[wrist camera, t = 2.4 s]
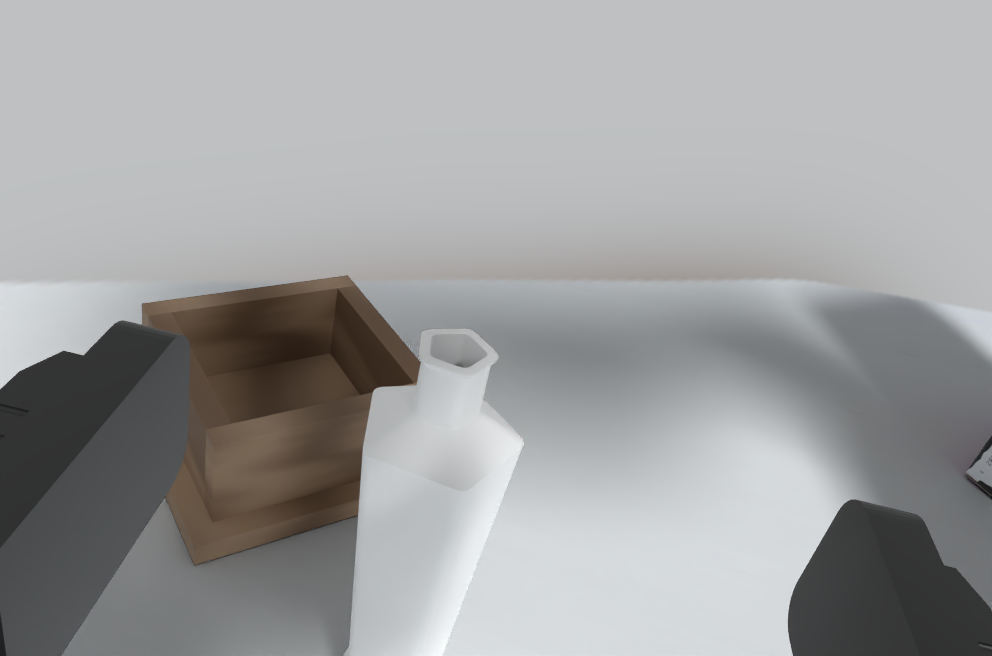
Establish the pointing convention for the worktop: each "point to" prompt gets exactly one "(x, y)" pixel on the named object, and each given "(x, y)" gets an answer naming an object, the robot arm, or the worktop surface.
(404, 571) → the perfume bottle
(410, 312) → the worktop surface
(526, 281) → the worktop surface
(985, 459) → the candy bar box
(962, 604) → the robot arm
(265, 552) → the worktop surface
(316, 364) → the holder
